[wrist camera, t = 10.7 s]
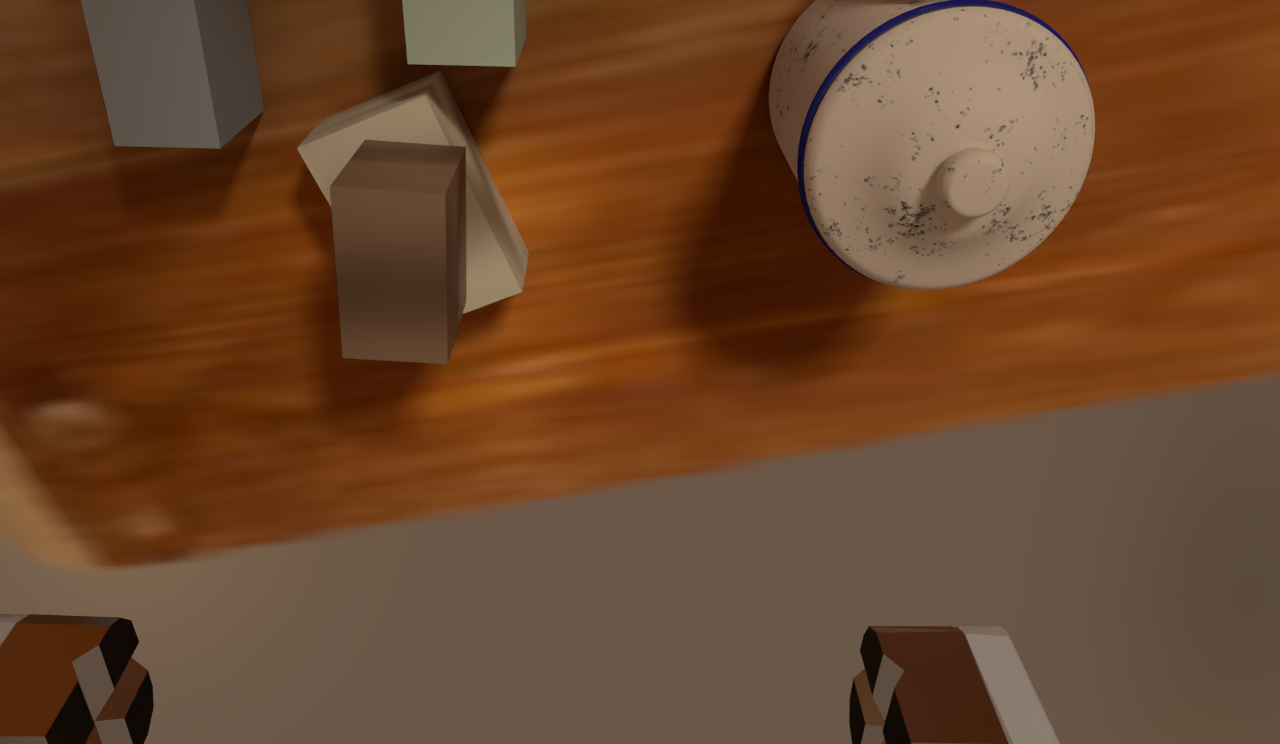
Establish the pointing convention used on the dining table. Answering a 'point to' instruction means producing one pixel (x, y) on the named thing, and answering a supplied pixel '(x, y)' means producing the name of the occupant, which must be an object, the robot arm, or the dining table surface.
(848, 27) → the teacup with lid
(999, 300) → the dining table surface
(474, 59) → the sage block
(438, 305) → the walnut block
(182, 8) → the grey block
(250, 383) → the dining table surface
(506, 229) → the maple block
